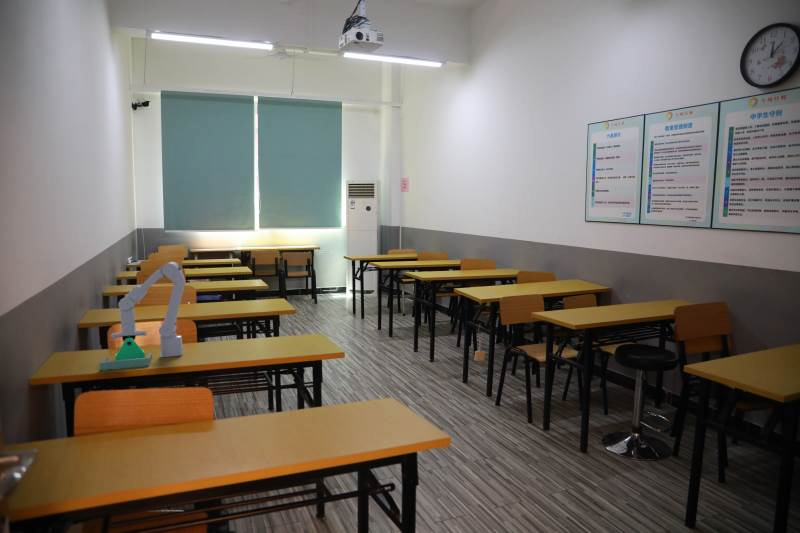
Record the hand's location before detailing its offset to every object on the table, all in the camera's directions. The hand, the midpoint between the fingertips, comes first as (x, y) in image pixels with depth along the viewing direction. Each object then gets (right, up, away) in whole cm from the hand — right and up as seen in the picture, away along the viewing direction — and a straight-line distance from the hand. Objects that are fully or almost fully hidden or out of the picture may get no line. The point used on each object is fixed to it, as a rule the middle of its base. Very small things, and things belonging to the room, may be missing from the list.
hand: (130, 351), depth 250 cm
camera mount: (+1, -3, -2) cm, 4 cm away
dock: (+4, -4, -10) cm, 11 cm away
